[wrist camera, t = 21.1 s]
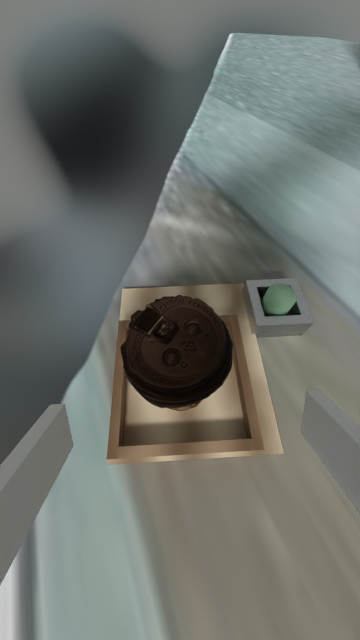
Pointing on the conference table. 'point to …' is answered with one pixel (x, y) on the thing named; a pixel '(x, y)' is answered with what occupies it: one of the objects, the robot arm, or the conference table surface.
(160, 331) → the coffee cup
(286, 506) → the conference table surface
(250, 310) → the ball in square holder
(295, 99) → the conference table surface
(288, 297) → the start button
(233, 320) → the tray
